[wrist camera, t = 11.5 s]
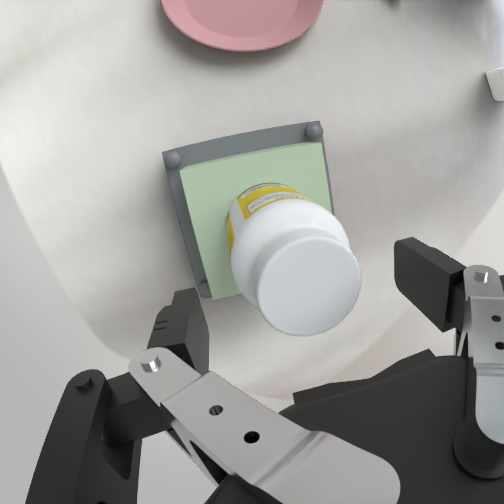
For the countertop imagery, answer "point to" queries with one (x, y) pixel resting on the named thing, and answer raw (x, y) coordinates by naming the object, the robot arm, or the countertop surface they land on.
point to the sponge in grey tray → (239, 189)
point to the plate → (242, 21)
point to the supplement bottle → (291, 259)
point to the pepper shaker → (496, 83)
